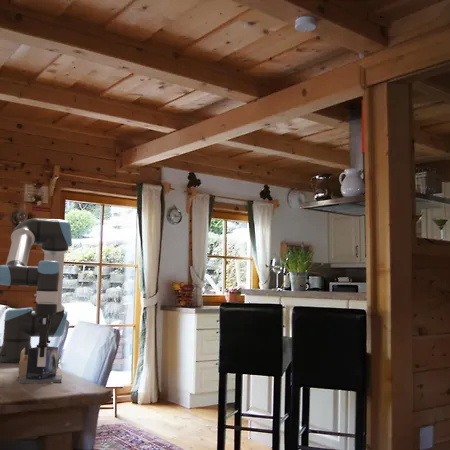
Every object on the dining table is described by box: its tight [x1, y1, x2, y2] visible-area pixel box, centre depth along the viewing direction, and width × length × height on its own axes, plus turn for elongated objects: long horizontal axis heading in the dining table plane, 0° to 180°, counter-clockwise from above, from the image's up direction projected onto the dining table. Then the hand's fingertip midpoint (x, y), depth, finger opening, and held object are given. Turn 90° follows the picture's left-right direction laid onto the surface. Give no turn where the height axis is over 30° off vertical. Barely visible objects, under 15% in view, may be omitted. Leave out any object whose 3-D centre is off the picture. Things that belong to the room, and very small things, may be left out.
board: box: [19, 374, 63, 384], centre depth 197 cm, size 10×14×1 cm
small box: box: [26, 345, 59, 379], centre depth 197 cm, size 11×6×10 cm, turn 169°
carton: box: [17, 348, 59, 379], centre depth 212 cm, size 19×13×9 cm
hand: (42, 364), depth 197 cm, fingers open, 12 cm apart
